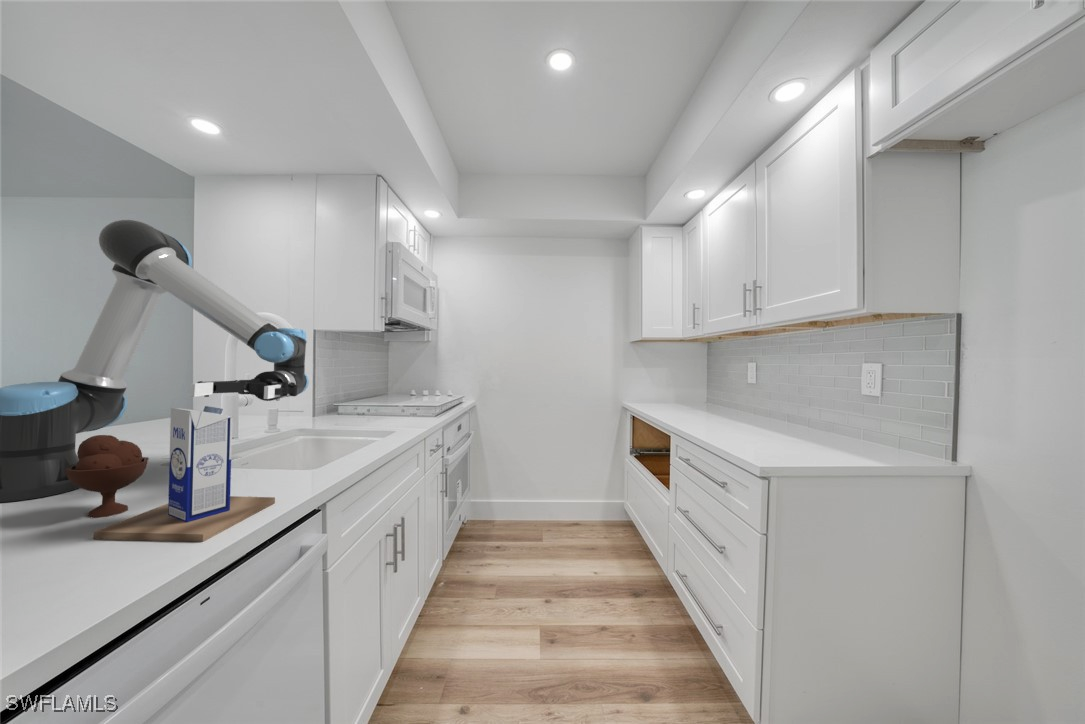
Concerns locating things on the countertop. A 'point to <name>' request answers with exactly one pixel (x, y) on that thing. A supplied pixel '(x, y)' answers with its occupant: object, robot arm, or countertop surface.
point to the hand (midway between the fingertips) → (229, 391)
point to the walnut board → (182, 523)
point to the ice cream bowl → (106, 470)
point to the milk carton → (199, 463)
